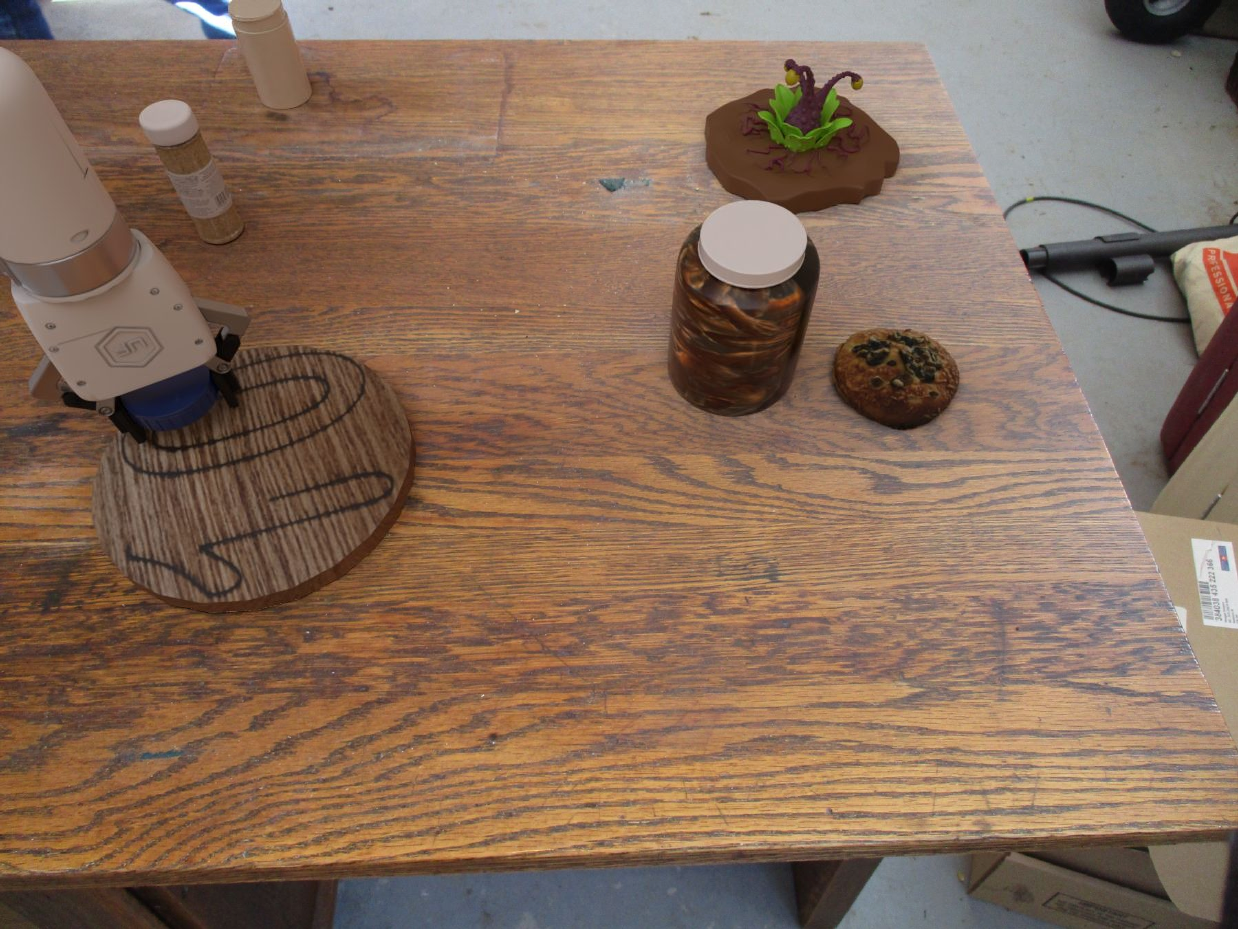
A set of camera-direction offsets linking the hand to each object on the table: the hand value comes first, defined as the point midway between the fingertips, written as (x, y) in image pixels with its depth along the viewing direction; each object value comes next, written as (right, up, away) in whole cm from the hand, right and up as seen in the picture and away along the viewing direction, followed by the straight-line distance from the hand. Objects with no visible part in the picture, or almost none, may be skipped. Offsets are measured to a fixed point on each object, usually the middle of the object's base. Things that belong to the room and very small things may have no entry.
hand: (185, 412), depth 69 cm
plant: (+55, +30, +24) cm, 67 cm away
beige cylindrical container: (-3, +40, +30) cm, 50 cm away
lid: (0, +2, -3) cm, 3 cm away
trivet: (+7, -5, 0) cm, 8 cm away
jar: (+46, +5, +7) cm, 47 cm away
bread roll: (+61, +3, +6) cm, 61 cm away
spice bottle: (-5, +19, +16) cm, 26 cm away
